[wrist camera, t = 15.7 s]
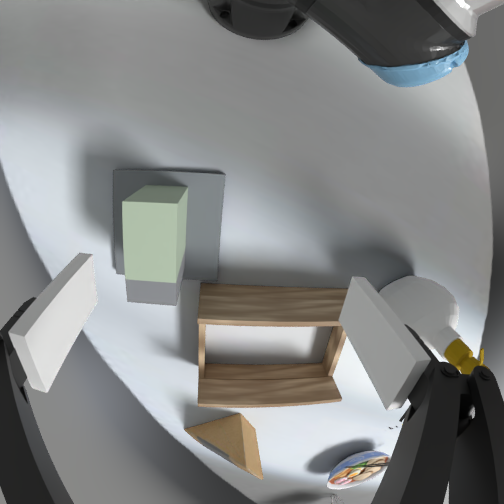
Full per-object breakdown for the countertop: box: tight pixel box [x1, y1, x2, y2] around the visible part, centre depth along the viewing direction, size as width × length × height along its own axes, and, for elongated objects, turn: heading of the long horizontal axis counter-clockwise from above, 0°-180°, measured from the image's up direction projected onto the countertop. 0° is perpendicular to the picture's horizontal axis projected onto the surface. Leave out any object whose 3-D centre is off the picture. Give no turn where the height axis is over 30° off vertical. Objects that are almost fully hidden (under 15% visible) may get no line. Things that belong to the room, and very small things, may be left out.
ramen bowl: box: [327, 451, 391, 489], centre depth 72 cm, size 25×23×8 cm
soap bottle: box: [379, 276, 489, 374], centre depth 39 cm, size 14×9×26 cm, turn 109°
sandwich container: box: [184, 413, 263, 480], centre depth 54 cm, size 9×15×15 cm, turn 115°
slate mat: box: [113, 170, 225, 281], centre depth 42 cm, size 16×16×1 cm
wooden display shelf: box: [197, 283, 348, 408], centre depth 47 cm, size 18×25×10 cm
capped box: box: [122, 185, 188, 306], centre depth 36 cm, size 12×6×11 cm, turn 174°
